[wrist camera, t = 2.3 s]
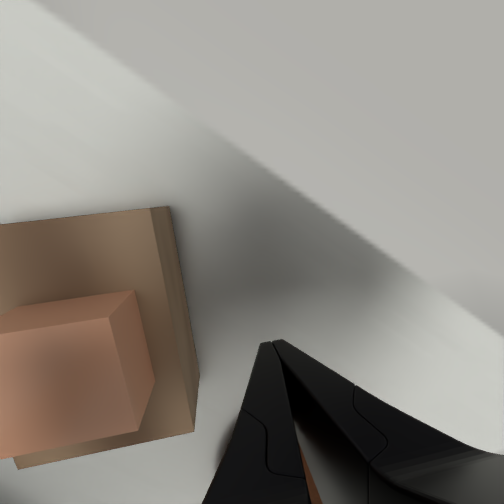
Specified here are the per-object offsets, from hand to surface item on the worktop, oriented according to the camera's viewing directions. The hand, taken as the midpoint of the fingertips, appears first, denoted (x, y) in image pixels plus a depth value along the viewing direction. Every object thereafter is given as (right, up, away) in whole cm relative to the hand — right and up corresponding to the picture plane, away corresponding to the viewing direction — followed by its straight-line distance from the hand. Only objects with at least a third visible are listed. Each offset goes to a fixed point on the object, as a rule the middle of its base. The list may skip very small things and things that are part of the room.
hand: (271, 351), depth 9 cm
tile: (-8, 0, +2) cm, 8 cm away
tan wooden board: (-9, 0, +5) cm, 10 cm away
